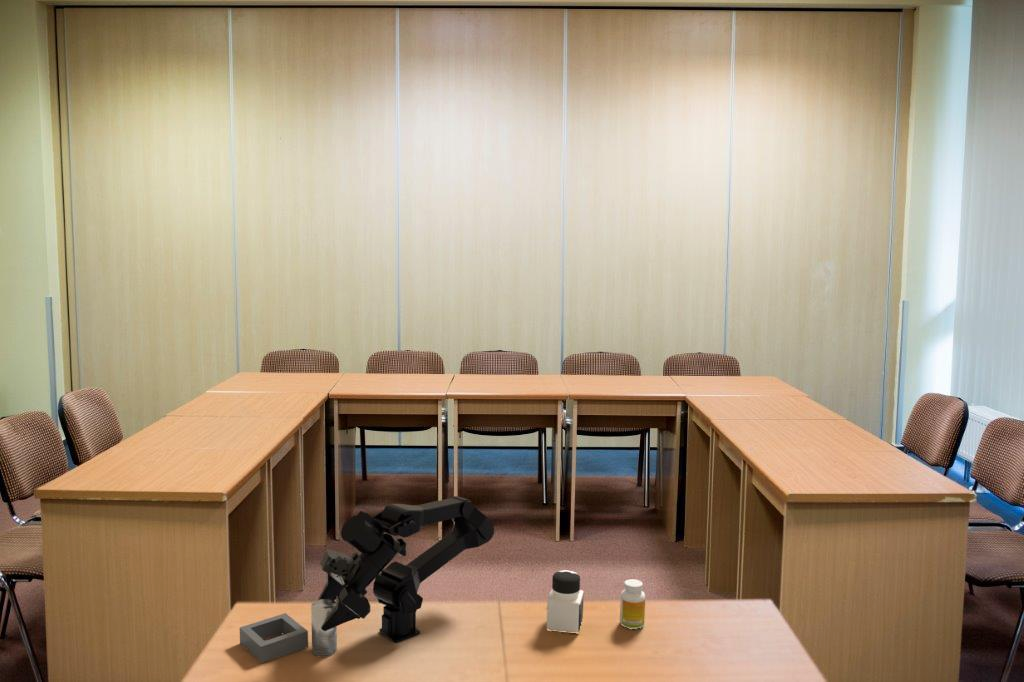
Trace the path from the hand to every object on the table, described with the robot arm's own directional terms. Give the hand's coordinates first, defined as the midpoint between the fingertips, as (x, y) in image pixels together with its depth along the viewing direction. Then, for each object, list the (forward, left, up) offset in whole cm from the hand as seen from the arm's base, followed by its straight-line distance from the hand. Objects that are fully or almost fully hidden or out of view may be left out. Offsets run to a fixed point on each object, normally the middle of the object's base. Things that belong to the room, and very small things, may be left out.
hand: (319, 619), depth 168 cm
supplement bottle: (-59, +33, -7) cm, 68 cm away
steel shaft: (-1, 0, -7) cm, 7 cm away
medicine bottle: (-47, +24, -7) cm, 53 cm away
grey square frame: (+6, -8, -7) cm, 12 cm away
